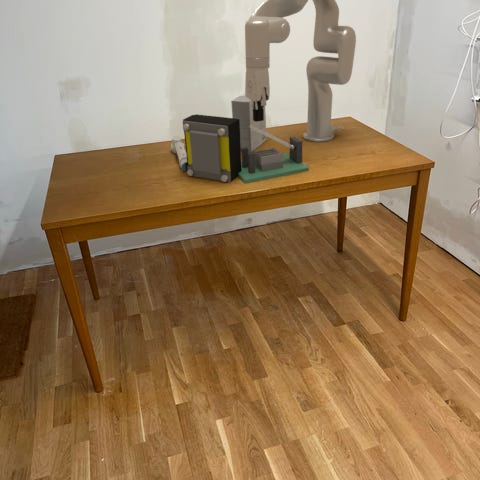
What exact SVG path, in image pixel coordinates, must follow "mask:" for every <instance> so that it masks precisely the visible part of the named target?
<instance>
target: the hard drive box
mask: <svg viewBox="0 0 480 480" xmlns="http://www.w3.org/2000/svg"><path fill="white" fill-rule="evenodd" d="M230 102H231V103H230V104H231V118H235V119H239V121H240V145H241V148H243V147H247V148H248V153H252V152H254V151H255V150H257V148H259V147H260V146H261V145H263V144H264V143H265V142H266V141H267V136H265V135H263V134H261V133H259V132H257V131H255V130H253V129H251V128H250V127H249V126H250V124H251V125H253V126H255V127H257V128H259V129H261V130H263V131H265V132H267V124H266V123H267V120H266V115H267V114H266V106H264V120H263V121H258V122H255V121H254V120H253V109H254V108H253V107H252V100H251V99H249V98H247V97H246V95H245V92H243V94H241V95H239V96H238V97H236V98H234V99H232V100H231V101H230Z"/></svg>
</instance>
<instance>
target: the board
mask: <svg viewBox="0 0 480 480" xmlns="http://www.w3.org/2000/svg"><path fill="white" fill-rule="evenodd" d="M289 143H290V144H292V145H294V146H295V150H292V149H291V148H289V152H288V153H282V152H280V151H279V150H278V149H276V148H275V147H273V148H272V147H271V148H266V149H261V150H256V151H255V150H254V151H252V152H251V153H249V152H248V148H247V147H243V148H241V169H242V171H241V172H239V173H238V177H237V178H239V179H240V180H241V181H242V182H243V183H244V184H249V183H250V184H251V183H254V182H259V181H265V180H270V179H274V178H279V177H280V178H281V177H285V176H289V175H294V174H299V173H305V172H309V166H307V165H306V164H305V163H303V141H302V140H301V139H300V138H298V137H296V136H291V137H289Z"/></svg>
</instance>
